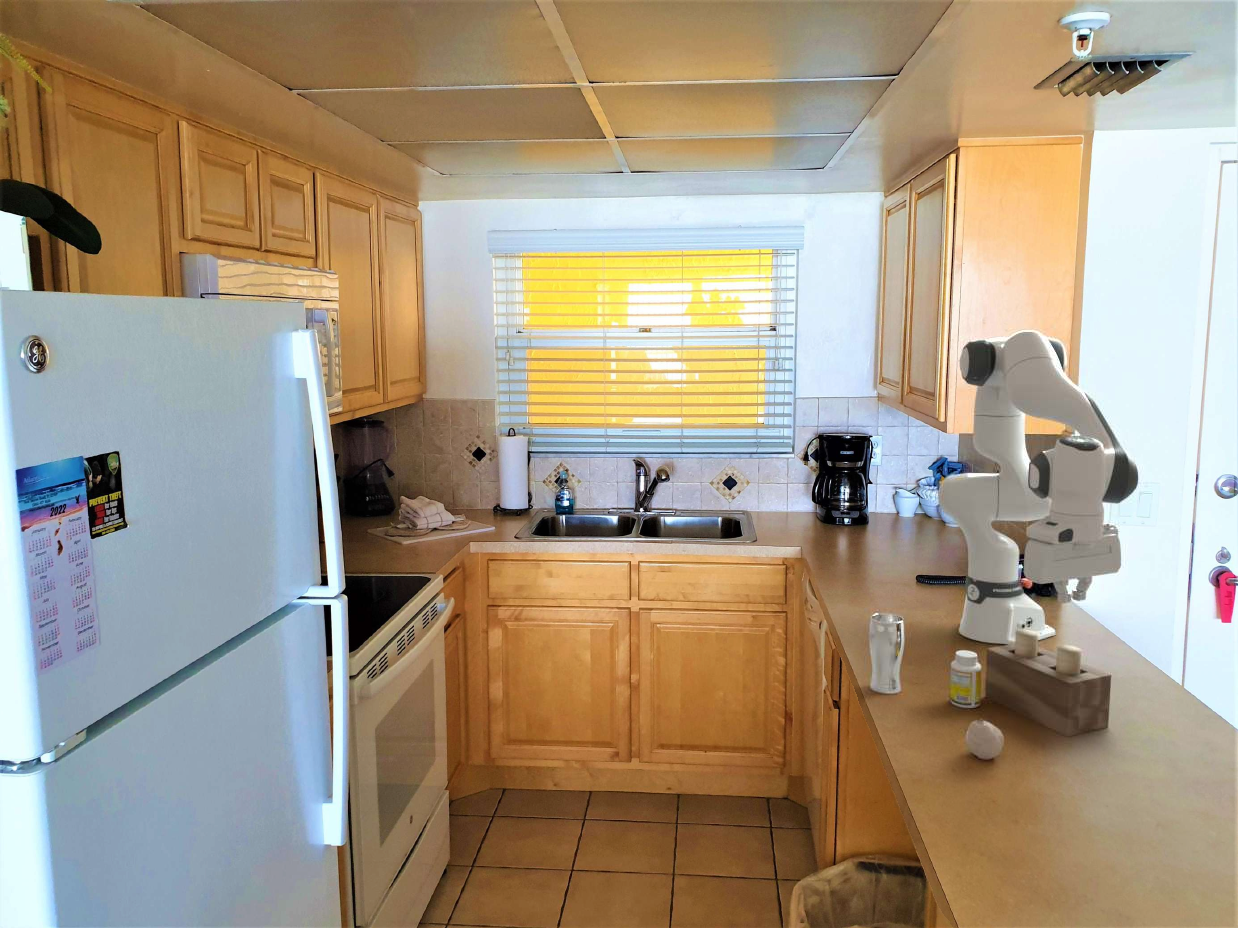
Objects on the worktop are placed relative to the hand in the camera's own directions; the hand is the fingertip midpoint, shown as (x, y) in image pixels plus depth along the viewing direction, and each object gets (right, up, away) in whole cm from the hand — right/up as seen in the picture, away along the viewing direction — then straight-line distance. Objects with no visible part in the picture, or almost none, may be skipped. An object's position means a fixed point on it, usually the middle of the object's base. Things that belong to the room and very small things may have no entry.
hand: (1071, 601), depth 168 cm
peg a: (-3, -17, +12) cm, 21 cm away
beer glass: (-28, -21, +20) cm, 41 cm away
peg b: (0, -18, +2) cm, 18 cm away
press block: (-1, -22, +8) cm, 24 cm away
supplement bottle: (-15, -22, +12) cm, 29 cm away
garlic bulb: (-20, -25, -10) cm, 34 cm away
